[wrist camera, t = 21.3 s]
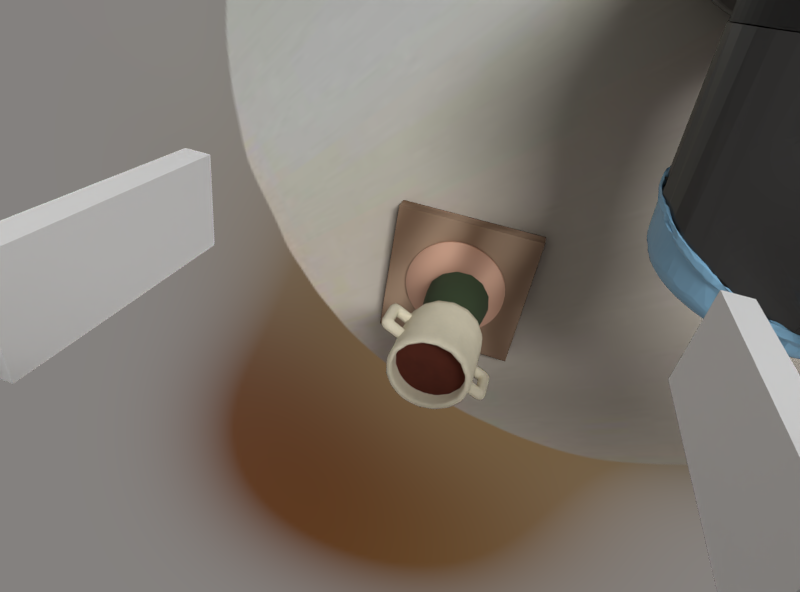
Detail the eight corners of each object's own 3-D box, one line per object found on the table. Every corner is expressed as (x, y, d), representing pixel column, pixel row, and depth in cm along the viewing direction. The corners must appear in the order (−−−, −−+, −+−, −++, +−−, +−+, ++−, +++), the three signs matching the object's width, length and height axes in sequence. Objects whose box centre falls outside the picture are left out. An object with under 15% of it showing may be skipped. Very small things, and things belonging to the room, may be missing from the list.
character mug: (396, 285, 53) (350, 359, 43) (437, 238, 49) (397, 306, 39) (478, 349, 54) (452, 437, 44) (524, 308, 50) (509, 393, 40)
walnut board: (545, 237, 48) (544, 245, 47) (506, 353, 56) (504, 363, 54) (403, 200, 51) (398, 206, 49) (384, 315, 58) (378, 324, 56)
